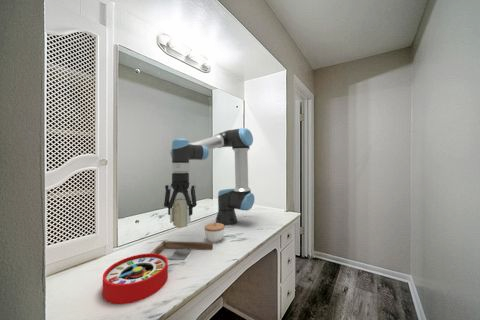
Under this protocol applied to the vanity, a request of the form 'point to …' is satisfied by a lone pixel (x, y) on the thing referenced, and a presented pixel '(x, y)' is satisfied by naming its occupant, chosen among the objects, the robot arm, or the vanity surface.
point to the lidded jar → (214, 232)
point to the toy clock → (135, 278)
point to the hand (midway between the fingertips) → (180, 222)
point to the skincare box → (180, 213)
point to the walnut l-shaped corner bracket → (181, 253)
